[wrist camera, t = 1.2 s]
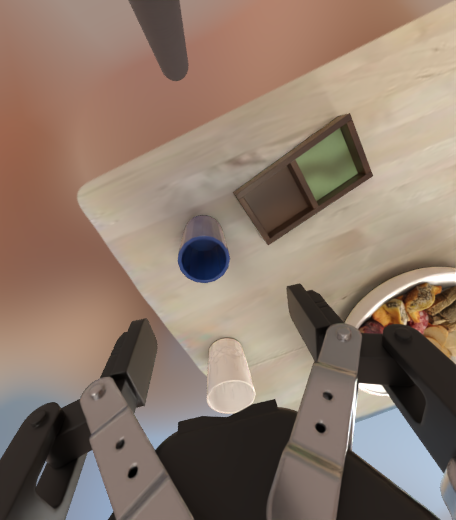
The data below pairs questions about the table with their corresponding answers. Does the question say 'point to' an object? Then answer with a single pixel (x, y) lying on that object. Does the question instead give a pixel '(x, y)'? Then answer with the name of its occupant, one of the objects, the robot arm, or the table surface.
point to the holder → (305, 179)
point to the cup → (203, 250)
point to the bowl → (411, 310)
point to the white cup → (228, 377)
